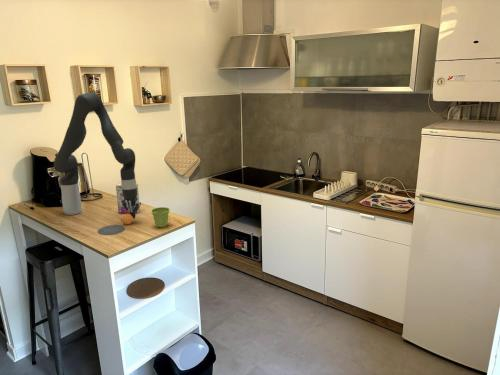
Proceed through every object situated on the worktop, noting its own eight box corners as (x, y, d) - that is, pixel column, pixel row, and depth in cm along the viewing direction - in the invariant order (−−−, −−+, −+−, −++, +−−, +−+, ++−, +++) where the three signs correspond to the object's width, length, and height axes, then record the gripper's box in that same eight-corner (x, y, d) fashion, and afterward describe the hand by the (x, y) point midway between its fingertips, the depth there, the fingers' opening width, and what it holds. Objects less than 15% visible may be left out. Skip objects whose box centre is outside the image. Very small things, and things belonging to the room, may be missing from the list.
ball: (126, 221, 203) (118, 223, 198) (127, 211, 202) (120, 213, 196) (134, 224, 200) (126, 226, 195) (135, 214, 199) (128, 216, 194)
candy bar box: (118, 213, 215) (115, 185, 211) (121, 210, 220) (119, 183, 216) (137, 213, 214) (134, 186, 210) (140, 211, 219) (138, 183, 215)
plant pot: (151, 223, 199) (150, 208, 197) (169, 221, 202) (168, 206, 200) (153, 230, 191) (152, 213, 188) (172, 227, 194) (171, 211, 192)
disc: (92, 231, 189) (91, 231, 189) (112, 223, 200) (112, 223, 199) (109, 236, 182) (109, 236, 182) (130, 228, 193) (130, 227, 193)
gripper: (114, 187, 197) (118, 218, 202) (132, 190, 191) (136, 222, 196) (125, 183, 204) (129, 214, 208) (143, 186, 197) (147, 217, 202)
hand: (132, 218), depth 202 cm, fingers closed
